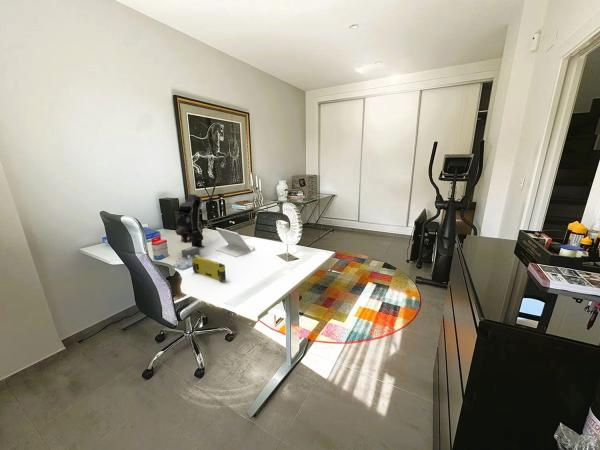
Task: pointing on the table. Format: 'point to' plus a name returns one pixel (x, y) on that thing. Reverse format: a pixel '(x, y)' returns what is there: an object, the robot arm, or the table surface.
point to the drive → (190, 252)
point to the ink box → (159, 248)
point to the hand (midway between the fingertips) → (190, 244)
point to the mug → (188, 234)
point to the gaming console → (209, 268)
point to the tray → (183, 263)
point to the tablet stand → (234, 244)
